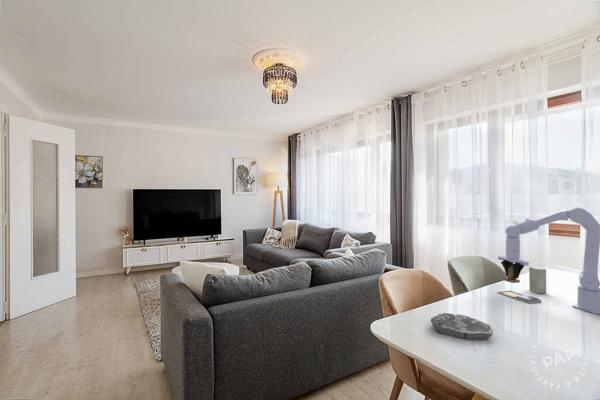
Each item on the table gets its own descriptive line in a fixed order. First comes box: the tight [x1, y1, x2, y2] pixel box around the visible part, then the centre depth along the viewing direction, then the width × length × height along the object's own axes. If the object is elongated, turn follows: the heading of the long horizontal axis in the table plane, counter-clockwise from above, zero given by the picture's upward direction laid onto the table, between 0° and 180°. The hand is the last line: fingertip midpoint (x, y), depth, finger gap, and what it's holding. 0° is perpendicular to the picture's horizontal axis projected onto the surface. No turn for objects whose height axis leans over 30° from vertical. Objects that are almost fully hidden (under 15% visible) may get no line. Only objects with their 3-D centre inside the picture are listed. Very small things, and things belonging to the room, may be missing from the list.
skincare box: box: [528, 266, 547, 294], centre depth 156 cm, size 6×4×12 cm
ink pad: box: [515, 294, 542, 304], centre depth 142 cm, size 7×7×1 cm
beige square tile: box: [496, 290, 523, 300], centre depth 150 cm, size 9×9×1 cm
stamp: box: [503, 267, 521, 284], centre depth 150 cm, size 4×4×7 cm
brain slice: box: [430, 312, 494, 341], centre depth 110 cm, size 20×17×3 cm
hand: (512, 277), depth 150 cm, fingers closed on stamp, 3 cm apart
